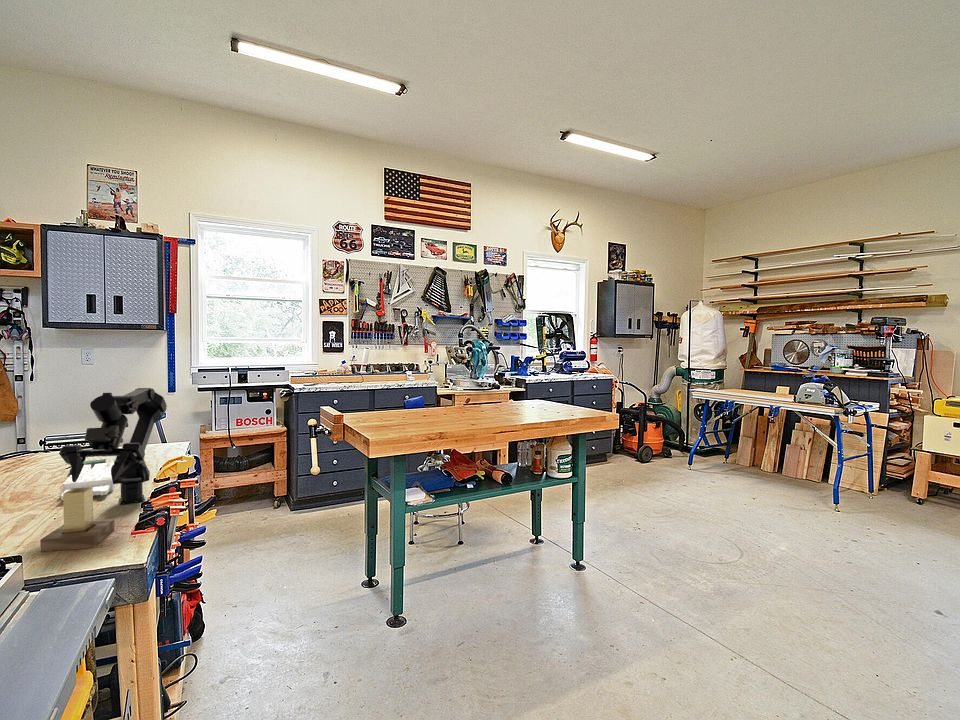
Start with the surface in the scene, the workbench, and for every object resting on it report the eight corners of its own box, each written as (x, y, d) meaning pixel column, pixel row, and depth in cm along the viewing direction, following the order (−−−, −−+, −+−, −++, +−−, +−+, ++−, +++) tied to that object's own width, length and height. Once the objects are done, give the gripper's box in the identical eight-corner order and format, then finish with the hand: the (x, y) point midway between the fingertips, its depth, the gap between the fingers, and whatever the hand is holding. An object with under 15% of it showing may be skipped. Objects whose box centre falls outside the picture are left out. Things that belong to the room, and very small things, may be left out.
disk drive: (104, 473, 189) (105, 465, 201) (104, 466, 189) (105, 458, 201) (69, 477, 183) (73, 468, 195) (69, 470, 183) (72, 461, 195)
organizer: (122, 461, 188) (109, 485, 158) (122, 473, 188) (109, 499, 158) (79, 465, 181) (56, 490, 151) (79, 478, 182) (57, 506, 151)
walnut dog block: (65, 534, 129) (65, 523, 129) (114, 530, 132) (114, 519, 131) (40, 551, 118) (40, 539, 118) (94, 547, 121) (93, 535, 121)
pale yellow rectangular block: (73, 538, 126) (72, 488, 126) (93, 536, 127) (92, 487, 127) (64, 545, 122) (63, 493, 122) (85, 543, 123) (84, 492, 123)
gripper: (61, 416, 134) (38, 467, 124) (140, 414, 139) (124, 462, 129) (77, 439, 142) (57, 488, 132) (151, 436, 147) (137, 483, 137)
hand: (93, 480), depth 132 cm, fingers open, 9 cm apart
